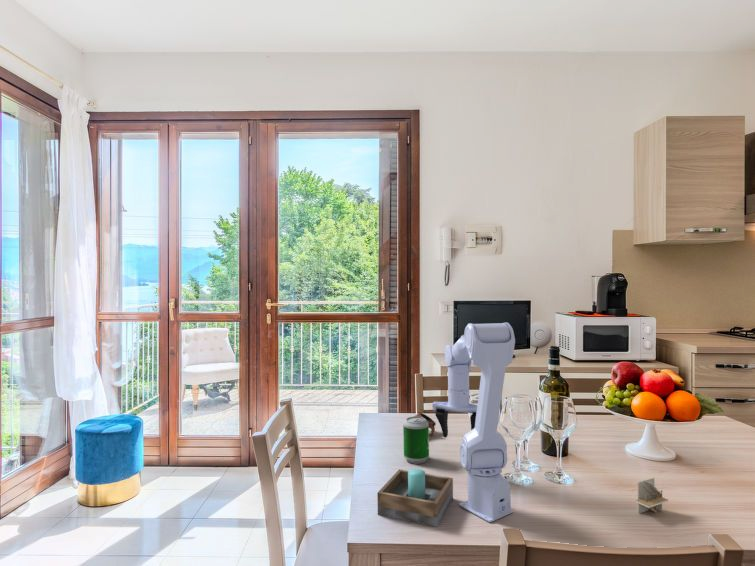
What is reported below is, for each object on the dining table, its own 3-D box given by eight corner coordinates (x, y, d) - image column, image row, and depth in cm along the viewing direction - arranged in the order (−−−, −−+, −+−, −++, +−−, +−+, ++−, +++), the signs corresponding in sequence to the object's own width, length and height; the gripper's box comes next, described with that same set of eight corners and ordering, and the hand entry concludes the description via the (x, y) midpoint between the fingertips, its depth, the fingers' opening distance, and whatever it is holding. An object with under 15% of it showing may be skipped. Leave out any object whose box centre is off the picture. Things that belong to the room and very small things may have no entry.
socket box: (452, 498, 114) (452, 478, 114) (437, 526, 101) (436, 503, 101) (399, 488, 119) (399, 469, 119) (377, 514, 106) (377, 492, 106)
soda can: (427, 465, 134) (427, 424, 134) (401, 463, 136) (401, 422, 135) (430, 455, 141) (429, 416, 141) (405, 454, 143) (405, 415, 143)
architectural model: (668, 515, 105) (668, 483, 105) (648, 523, 102) (648, 489, 102) (654, 509, 108) (654, 477, 108) (634, 516, 105) (634, 483, 105)
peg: (428, 506, 110) (428, 472, 110) (416, 512, 107) (415, 477, 107) (417, 500, 113) (417, 467, 113) (404, 505, 111) (404, 471, 111)
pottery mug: (409, 430, 167) (420, 410, 167) (430, 446, 163) (442, 425, 163) (396, 431, 157) (408, 409, 157) (418, 448, 152) (431, 426, 152)
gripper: (488, 387, 128) (488, 436, 129) (437, 383, 134) (437, 430, 134) (483, 393, 122) (483, 445, 122) (429, 389, 128) (430, 438, 128)
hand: (459, 438), depth 128 cm, fingers open, 7 cm apart
